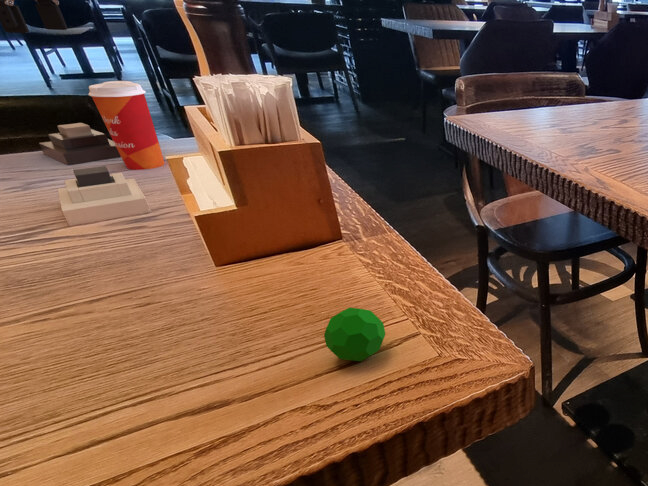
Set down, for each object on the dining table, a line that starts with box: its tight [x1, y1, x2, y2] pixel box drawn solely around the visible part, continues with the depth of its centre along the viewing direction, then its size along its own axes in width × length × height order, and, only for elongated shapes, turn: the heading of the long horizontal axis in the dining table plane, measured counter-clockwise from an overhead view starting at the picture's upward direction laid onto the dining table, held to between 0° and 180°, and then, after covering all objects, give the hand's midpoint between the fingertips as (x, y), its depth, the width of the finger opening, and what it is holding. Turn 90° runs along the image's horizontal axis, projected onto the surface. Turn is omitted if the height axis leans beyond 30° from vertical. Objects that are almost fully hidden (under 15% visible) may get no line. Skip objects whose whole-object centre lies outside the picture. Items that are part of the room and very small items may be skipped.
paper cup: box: [88, 82, 165, 171], centre depth 93 cm, size 8×8×14 cm
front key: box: [73, 165, 113, 187], centre depth 76 cm, size 4×4×2 cm
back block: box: [38, 128, 121, 167], centre depth 100 cm, size 12×9×4 cm
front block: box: [57, 172, 152, 227], centre depth 77 cm, size 12×9×4 cm
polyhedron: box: [323, 307, 386, 362], centre depth 48 cm, size 5×5×5 cm
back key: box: [57, 122, 93, 138], centre depth 98 cm, size 4×4×2 cm
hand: (38, 31), depth 91 cm, fingers open, 9 cm apart
